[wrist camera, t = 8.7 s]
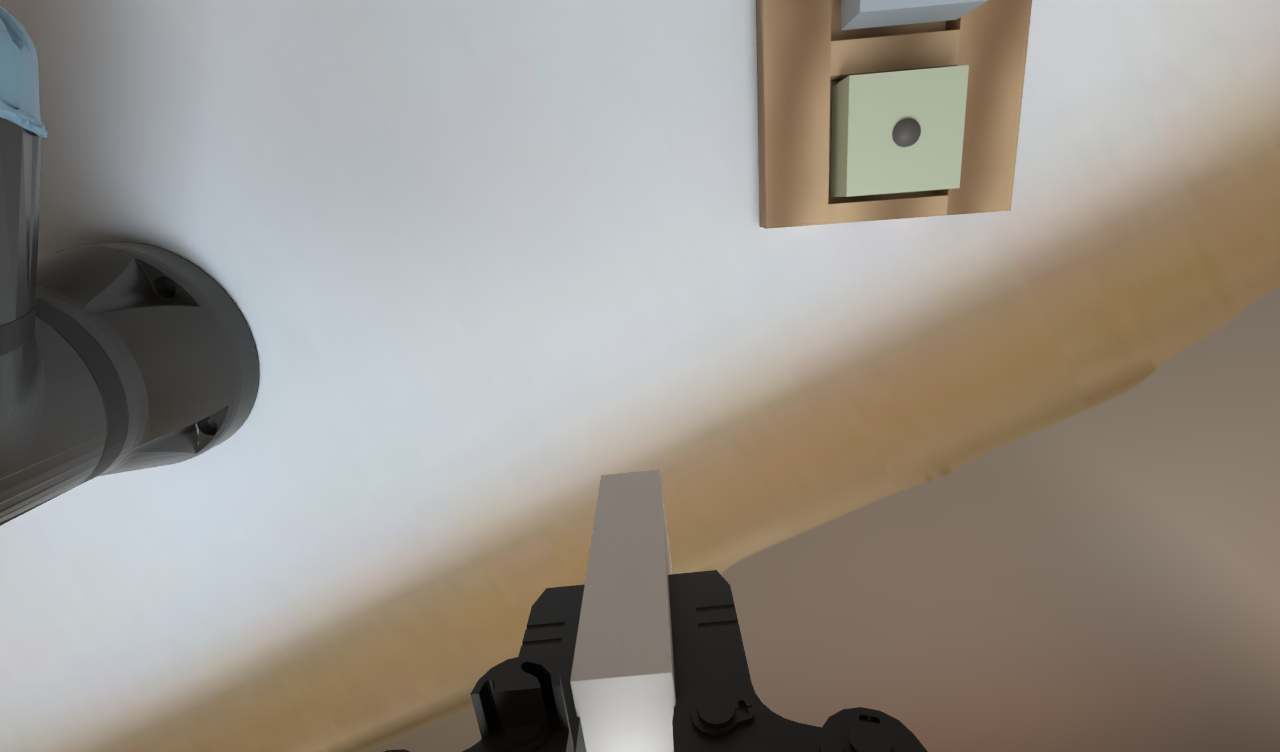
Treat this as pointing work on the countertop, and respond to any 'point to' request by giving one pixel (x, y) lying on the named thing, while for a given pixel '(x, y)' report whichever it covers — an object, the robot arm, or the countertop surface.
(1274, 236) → the countertop surface
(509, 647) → the countertop surface
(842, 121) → the tile one
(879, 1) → the tile two
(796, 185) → the tile board
